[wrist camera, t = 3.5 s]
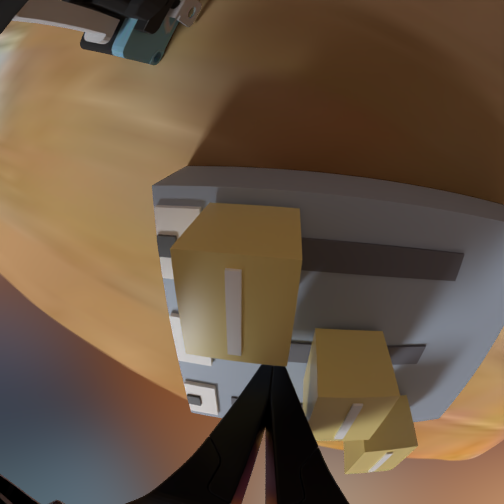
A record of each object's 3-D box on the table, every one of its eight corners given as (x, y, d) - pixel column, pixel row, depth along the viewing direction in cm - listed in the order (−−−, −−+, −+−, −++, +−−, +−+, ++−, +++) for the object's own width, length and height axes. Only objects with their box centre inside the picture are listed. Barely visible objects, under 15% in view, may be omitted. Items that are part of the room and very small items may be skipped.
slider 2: (382, 331, 9) (400, 398, 6) (361, 380, 10) (369, 441, 8) (315, 328, 9) (317, 399, 7) (303, 379, 10) (301, 442, 8)
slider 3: (406, 394, 10) (418, 447, 8) (385, 424, 12) (391, 471, 9) (359, 397, 11) (364, 454, 8) (342, 426, 12) (344, 475, 9)
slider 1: (299, 208, 7) (302, 261, 5) (290, 296, 9) (286, 369, 6) (209, 202, 8) (168, 250, 5) (213, 289, 9) (184, 355, 6)
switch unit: (503, 204, 9) (547, 234, 6) (427, 381, 14) (440, 422, 11) (186, 166, 11) (147, 188, 8) (204, 371, 16) (190, 417, 13)
